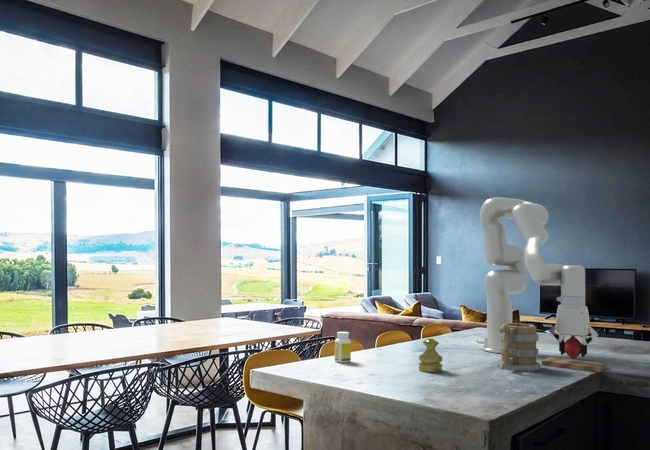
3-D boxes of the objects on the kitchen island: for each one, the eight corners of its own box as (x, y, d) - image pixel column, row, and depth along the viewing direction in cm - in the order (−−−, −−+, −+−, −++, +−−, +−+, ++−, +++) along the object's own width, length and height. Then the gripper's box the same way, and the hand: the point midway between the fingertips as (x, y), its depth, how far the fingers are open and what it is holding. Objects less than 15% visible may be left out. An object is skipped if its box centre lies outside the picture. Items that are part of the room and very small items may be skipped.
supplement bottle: (352, 361, 188) (353, 332, 189) (346, 363, 183) (347, 333, 184) (338, 359, 191) (338, 330, 191) (331, 362, 186) (332, 332, 186)
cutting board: (541, 365, 188) (541, 360, 188) (549, 361, 196) (549, 356, 196) (600, 372, 177) (600, 367, 177) (605, 367, 185) (605, 363, 185)
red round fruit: (584, 360, 183) (584, 336, 184) (565, 359, 185) (566, 335, 185) (580, 357, 189) (580, 334, 190) (562, 356, 190) (562, 333, 191)
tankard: (509, 362, 192) (510, 318, 193) (545, 368, 183) (545, 322, 184) (480, 369, 178) (480, 322, 179) (517, 376, 169) (517, 326, 170)
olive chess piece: (428, 373, 170) (428, 340, 171) (413, 369, 177) (414, 337, 177) (447, 371, 173) (447, 339, 174) (432, 367, 180) (432, 336, 181)
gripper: (543, 300, 190) (543, 353, 189) (598, 304, 180) (598, 360, 179) (549, 299, 196) (549, 350, 195) (602, 302, 186) (603, 357, 185)
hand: (573, 354), depth 187 cm, fingers closed on red round fruit, 5 cm apart
